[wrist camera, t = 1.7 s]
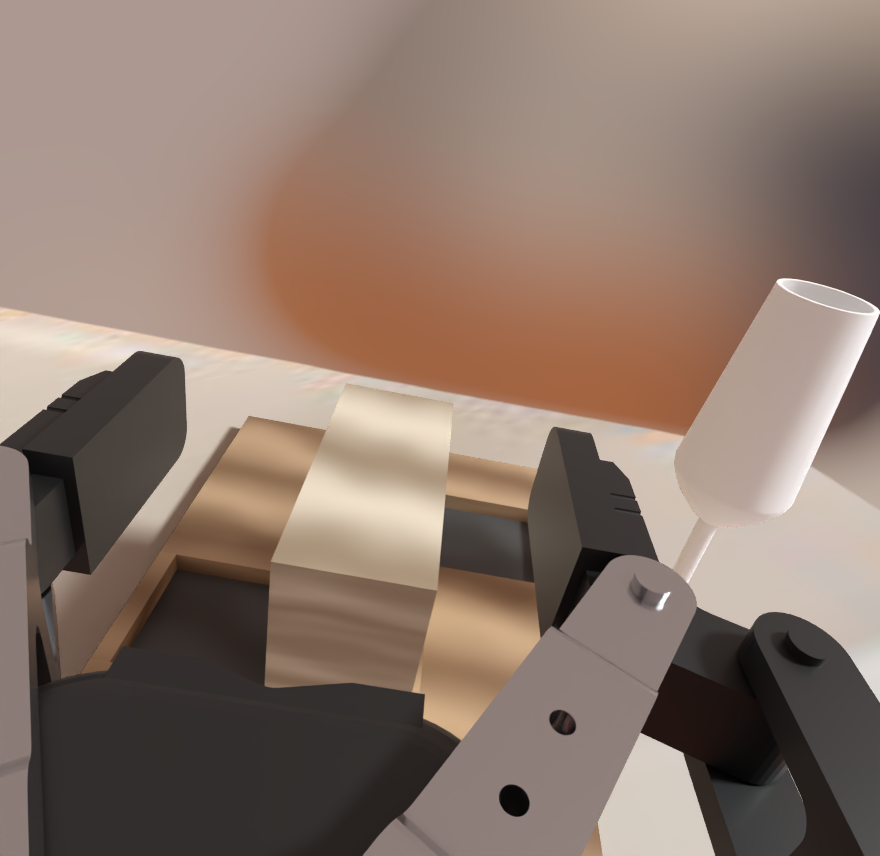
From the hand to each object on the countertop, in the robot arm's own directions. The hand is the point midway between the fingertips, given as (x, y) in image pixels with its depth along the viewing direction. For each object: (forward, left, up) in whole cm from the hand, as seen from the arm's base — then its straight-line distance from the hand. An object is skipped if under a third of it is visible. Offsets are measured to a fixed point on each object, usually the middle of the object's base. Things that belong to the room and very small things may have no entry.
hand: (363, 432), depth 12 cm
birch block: (+9, +9, -23) cm, 26 cm away
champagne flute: (+28, 0, -24) cm, 37 cm away
